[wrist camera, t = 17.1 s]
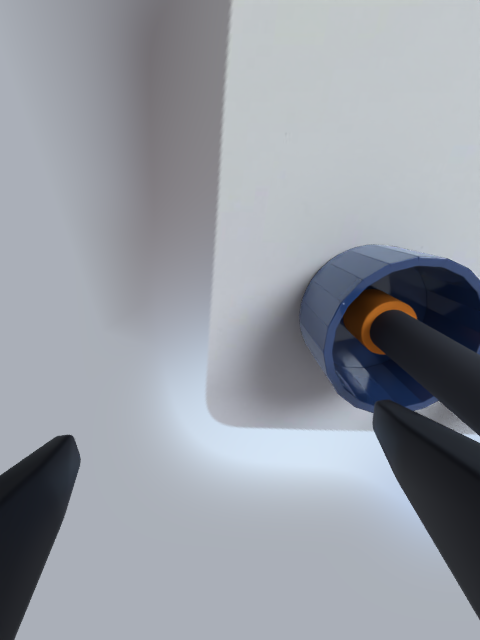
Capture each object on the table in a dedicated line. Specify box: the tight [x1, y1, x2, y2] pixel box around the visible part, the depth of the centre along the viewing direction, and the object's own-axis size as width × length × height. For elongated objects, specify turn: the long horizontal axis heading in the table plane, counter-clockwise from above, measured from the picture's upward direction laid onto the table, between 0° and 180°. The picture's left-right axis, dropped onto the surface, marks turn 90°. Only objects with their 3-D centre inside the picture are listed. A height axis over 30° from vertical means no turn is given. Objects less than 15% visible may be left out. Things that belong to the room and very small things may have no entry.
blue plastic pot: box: [300, 244, 480, 413], centre depth 20 cm, size 10×10×6 cm
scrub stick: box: [343, 289, 480, 436], centre depth 16 cm, size 4×4×12 cm
